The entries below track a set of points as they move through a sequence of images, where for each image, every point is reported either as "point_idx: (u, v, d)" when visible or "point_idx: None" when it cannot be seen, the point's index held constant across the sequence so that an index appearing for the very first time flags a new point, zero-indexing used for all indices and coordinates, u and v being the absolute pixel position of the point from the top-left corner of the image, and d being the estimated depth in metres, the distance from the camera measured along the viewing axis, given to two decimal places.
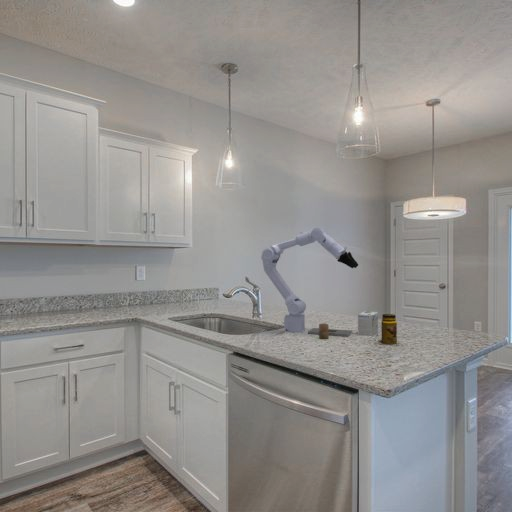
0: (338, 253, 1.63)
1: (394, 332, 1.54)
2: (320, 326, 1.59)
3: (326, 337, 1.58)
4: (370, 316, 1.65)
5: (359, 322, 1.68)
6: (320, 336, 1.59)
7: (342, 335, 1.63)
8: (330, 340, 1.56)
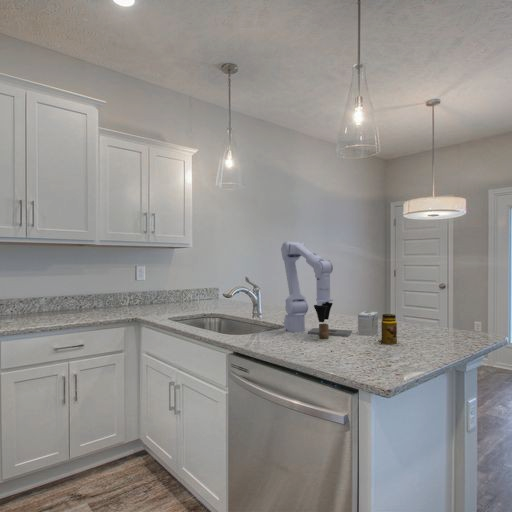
0: (320, 302, 1.53)
1: (394, 332, 1.54)
2: (320, 326, 1.59)
3: (326, 337, 1.58)
4: (370, 316, 1.65)
5: (359, 322, 1.68)
6: (320, 336, 1.59)
7: (342, 335, 1.63)
8: (330, 340, 1.56)
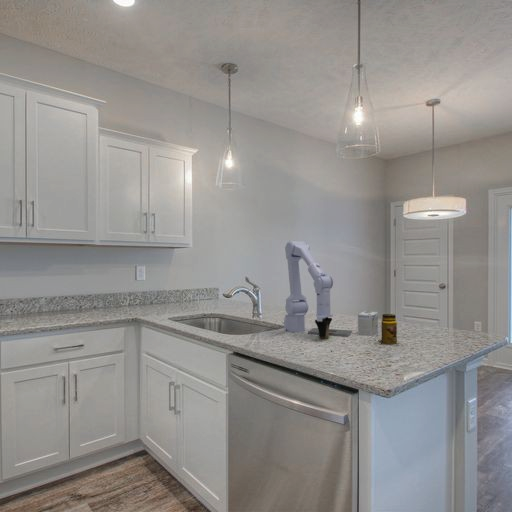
0: (320, 318, 1.53)
1: (394, 332, 1.54)
2: None
3: (326, 337, 1.58)
4: (370, 316, 1.65)
5: (359, 322, 1.68)
6: None
7: (342, 335, 1.63)
8: (330, 340, 1.56)
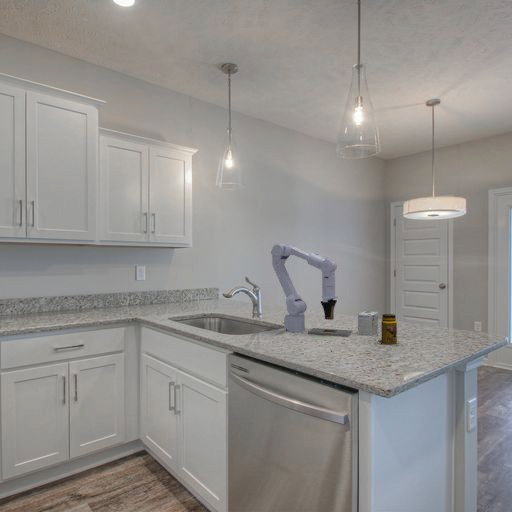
0: (325, 299, 1.63)
1: (394, 332, 1.54)
2: None
3: (331, 317, 1.68)
4: (370, 316, 1.65)
5: (359, 322, 1.68)
6: None
7: (342, 335, 1.63)
8: (330, 340, 1.56)
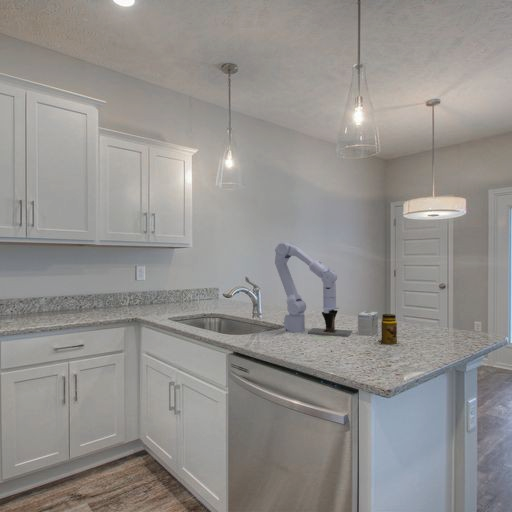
0: (326, 310, 1.64)
1: (394, 332, 1.54)
2: None
3: (332, 328, 1.69)
4: (370, 316, 1.65)
5: (359, 322, 1.68)
6: None
7: (342, 335, 1.63)
8: (330, 340, 1.56)
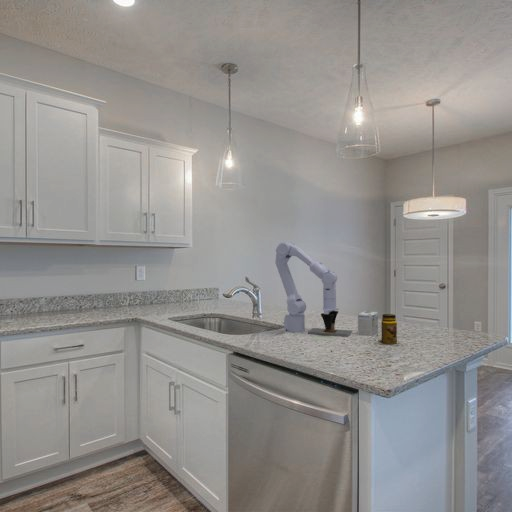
0: (326, 311, 1.64)
1: (394, 332, 1.54)
2: None
3: None
4: (370, 316, 1.65)
5: (359, 322, 1.68)
6: None
7: (342, 335, 1.63)
8: (330, 340, 1.56)
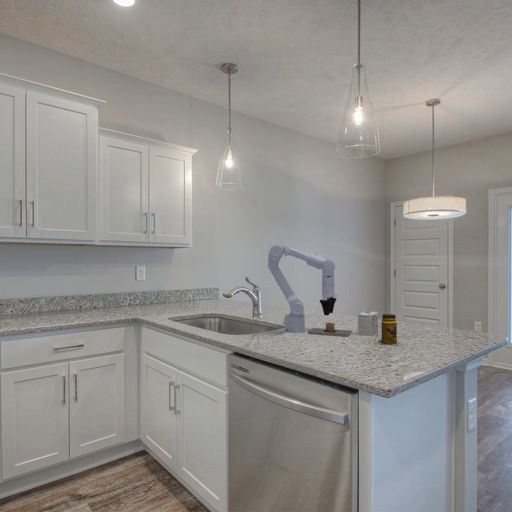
0: (325, 297, 1.70)
1: (394, 332, 1.54)
2: (327, 325, 1.70)
3: None
4: (370, 316, 1.65)
5: (359, 322, 1.68)
6: None
7: (342, 335, 1.63)
8: (330, 340, 1.56)
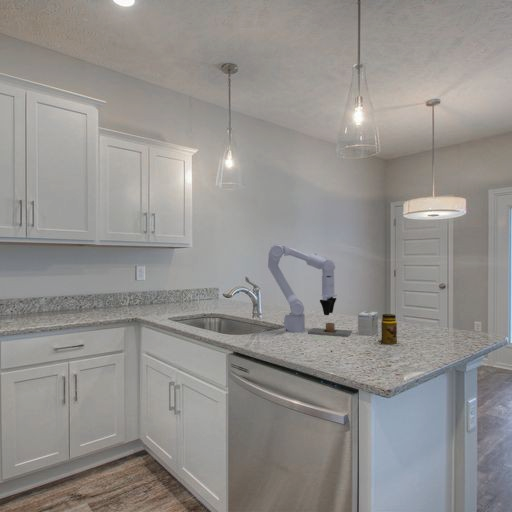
0: (325, 297, 1.70)
1: (394, 332, 1.54)
2: (327, 325, 1.70)
3: None
4: (370, 316, 1.65)
5: (359, 322, 1.68)
6: None
7: (342, 335, 1.63)
8: (330, 340, 1.56)
